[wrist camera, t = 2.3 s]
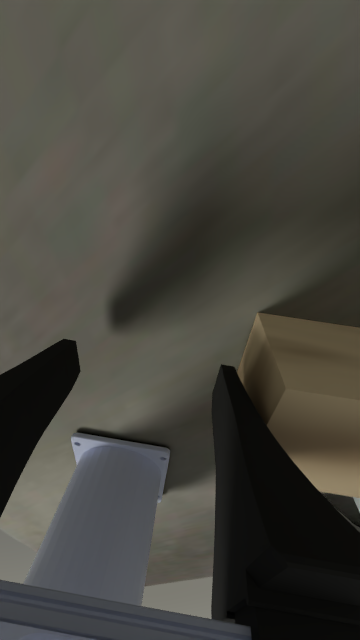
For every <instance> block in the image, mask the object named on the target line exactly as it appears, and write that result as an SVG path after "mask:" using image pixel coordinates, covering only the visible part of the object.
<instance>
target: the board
mask: <svg viewBox="0 0 360 640" xmlns="http://www.w3.org/2000/svg"><path fill="white" fill-rule="evenodd" d="M353 499H354V501H355V503H356V505H357V507H358V510H359V512H360V498H356V497H353Z"/></svg>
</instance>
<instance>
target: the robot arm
mask: <svg viewBox="0 0 360 640" xmlns="http://www.w3.org/2000/svg"><path fill="white" fill-rule="evenodd" d="M79 373H80V365H79V358H78V352H77V345H76V341H73V340H67V339H63V340H61V341H59V342H57V343H55V344H54V345H52V346H50V347H49V348H47V349H45V350H44V351H42V352H40V353H39V354H37V355H35V356H33V357H32V358H30V359H28V360H27V361H25V362H23V363H21V364H20V365H18V366H16V367H14V368H12V369H10V370H9V371H7V372H5V373H3V374H1V375H0V517H1V515H2V513H3V511H4V508H5V506H6V504H7V502H8V500H9V498H10V496H11V494H12V491H13V489H14V487H15V485H16V483H17V481H18V479H19V477H20V475H21V473H22V471H23V469H24V467H25V465H26V463H27V461H28V460H29V458H30V456H31V454H32V452H33V450H34V448H35V446H36V445H37V443H38V441H39V439H40V438H41V436H42V434H43V433H44V431H45V430H46V428H47V427H48V425H49V423H50V422H51V420H52V419H53V417H54V416H55V414H56V413H57V411H58V410H59V408H60V407H61V405H62V404H63V402H64V401H65V399H66V398H67V396H68V394H69V393H70V391H71V390H72V388H73V386H74V384H75V382H76V380H77V378H78V375H79ZM212 423H213V436H214V449H215V462H216V502H215V539H214V565H213V586H212V606H211V607H212V610H211V611H212V619H207V618H202V617H197V616H191V615H186V614H180V613H175V612H169V611H164V610H159V609H154V608H148V607H143V606H141V604H142V598H143V591H144V585H145V578H146V572H147V565H148V559H149V553H150V546H151V540H152V533H153V527H154V520H155V514H156V507H157V503H159V502H161V500H162V495H163V489H164V484H165V479H166V473H167V468H168V463H169V458H170V450H169V449H168V448H165V447H159V446H153V445H148V444H142V443H136V442H130V441H124V440H118V439H113V438H107V437H101V436H95V435H89V434H83V433H74V434H73V435H72V437H71V442H72V446H73V450H74V454H75V459H76V463H77V467H76V469H75V471H74V473H73V475H72V478H71V480H70V482H69V484H68V486H67V489H66V491H65V493H64V495H63V497H62V500H61V502H60V504H59V506H58V508H57V511H56V513H55V515H54V517H53V519H52V522H51V524H50V526H49V528H48V530H47V533H46V535H45V537H44V539H43V541H42V544H41V546H40V548H39V550H38V552H37V555H36V557H35V559H34V561H33V564H32V566H31V568H30V570H29V572H28V574H27V577H26V579H25V581H24V583H23V584H20V583H15V582H9V581H3V580H0V640H360V532H359V531H358V530H357V529H356V528H355V527H354V526H353V525H352V524H351V523H350V522H349V521H348V520H347V519H345V518H344V517H343V516H342V515H341V514H340V513H339V512H338V511H337V510H336V509H335V508H334V507H333V506H332V505H331V504H330V502H329V501H328V500H327V499H326V498H325V497H324V496H323V495H322V494H321V493H320V492H319V491H318V490H317V489H316V487H315V486H314V485H313V484H312V483H311V482H310V481H309V479H308V478H307V477H306V476H305V475H304V474H303V472H302V471H301V470H300V469H299V468H298V467H297V465H296V464H295V463H294V462H293V461H292V459H291V458H290V457H289V456H288V454H287V453H286V452H285V450H284V449H283V448H282V446H281V445H280V444H279V442H278V441H277V440H276V438H275V437H274V436H273V434H272V433H271V431H270V430H269V428H268V427H267V425H266V424H265V422H264V421H263V419H262V417H261V416H260V414H259V413H258V411H257V409H256V408H255V406H254V404H253V402H252V401H251V399H250V397H249V395H248V393H247V392H246V390H245V388H244V386H243V384H242V382H241V380H240V378H239V376H238V374H237V372H236V369H235V368H234V367H233V366H226V365H221V367H220V370H219V373H218V377H217V380H216V383H215V387H214V390H213V395H212Z"/></svg>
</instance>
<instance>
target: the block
mask: <svg viewBox="0 0 360 640" xmlns="http://www.w3.org/2000/svg"><path fill="white" fill-rule="evenodd" d="M237 374H238V376H239V378H240V380H241V382H242V384H243V386H244V388H245V390H246V392H247V393H248V395H249V397H250V399H251V401H252V402H253V404H254V406H255V408H256V409H257V411H258V413H259V414H260V416H261V417H262V419H263V421H264V422H265V424H266V425H267V427H268V428H269V430H270V431H271V433H272V434H273V436H274V437H275V438H276V440H277V441H278V442H279V444H280V445H281V446H282V448H283V449H284V450H285V452H286V453H287V454H288V456H289V457H290V458H291V459H292V461H293V462H294V463H295V464H296V465H297V467H298V468H299V469H300V470H301V471H302V472H303V474H304V475H305V476H306V477H307V478H308V479H309V481H310V482H311V483H312V484H313V485H314V486H315V487H316V489H317V490H318V491H320V492H326V493H332V494H338V495H344V496H350V497H356V498H360V328H359V327H352V326H345V325H338V324H332V323H325V322H318V321H312V320H305V319H298V318H291V317H285V316H278V315H271V314H264V313H258V312H257V315H256V318H255V321H254V324H253V327H252V330H251V333H250V336H249V339H248V342H247V345H246V348H245V350H244V353H243V356H242V359H241V362H240V365H239V368H238V371H237Z"/></svg>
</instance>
